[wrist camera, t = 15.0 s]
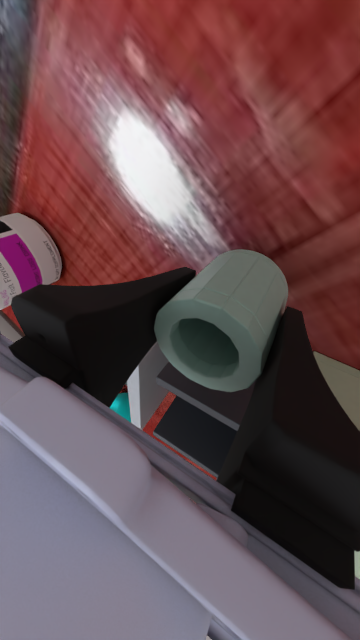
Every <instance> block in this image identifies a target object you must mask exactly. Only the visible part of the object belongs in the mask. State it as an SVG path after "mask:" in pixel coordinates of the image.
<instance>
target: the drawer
mask: <svg viewBox="0 0 360 640" xmlns="http://www.w3.org/2000/svg"><path fill="white" fill-rule="evenodd" d="M255 382H256V381H255ZM255 382H254V383H253V384H252V385H251V386H250V387H249V388H247V389H243V390H238V391H234V392H226V391H220V390H214V389H210V388H207V387H205V386H203V385H201V384H199V383H196V382H194V381H192V380H190V379H189V378H187V377H186V376H185V375H183V374H182V373H181V372H180V371H179V370H177V369H176V368H175V367H174V366H173V365H172V364H171V363H170V362H169V361H168V359H167V358H166V356H165V355H164V354H163V352H162V351H161V349H160V347H159V345H158V342H156V343H155V344H154V345H153V346H152V348H151V349H150V350H149V351H148V353H147V354H146V355H145V357H144V358H143V359H142V361H141V362H140V363H139V365H138V366H137V368H136V369H135V370H134V372H133V373H132V374H131V376H130V377H129V379H128V380H127V382H126V383H125V384H126V385H127V386H128V396H129V406H130V415H131V423H132V424H133V425H135V426H136V427H138V428H139V429H141V430H142V429H143V428H144V427H145V425H146V424H147V422H148V421H149V419H150V418H151V416H152V415H153V414H154V412H155V411H156V409H157V408H158V406H159V405H160V404H161V402H162V401H163V399H164V398H165V396H166V395H167V393H168V392H169V391H170V392H172V393H174V394H175V395H177V396H176V398H175V399H174V401H173V402H172V404H171V405H170V407H169V408H168V410H167V411H166V413H165V414H164V416H163V418H162V419H161V421H160V422H159V424H158V425H157V427H156V428H155V430H154V432H153V435H154V436H156V437H157V438H159V439H160V440H162V441H163V442H165V443H166V444H168V445H169V446H171V447H172V448H174V449H175V450H177V451H178V452H179V453H181V454H182V455H184V456H185V457H187V458H188V459H190V460H191V461H193V462H194V463H196V464H197V465H199V466H200V467H202V468H203V469H205V470H206V471H208V472H209V473H210V474H212V475H213V476H215V477H216V478H218V476H219V474H220V471H221V469H222V467H223V464H224V462H225V460H226V457H227V455H228V452H229V450H230V448H231V445H232V443H233V441H234V438H235V436H236V433H237V431H238V429H239V426H240V424H241V421H242V419H243V416H244V414H245V411H246V409H247V406H248V404H249V401H250V399H251V396H252V393H253V389H254V385H255Z"/></svg>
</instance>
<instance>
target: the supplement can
mask: <svg viewBox="0 0 360 640" xmlns="http://www.w3.org/2000/svg"><path fill="white" fill-rule="evenodd" d="M61 270H62V262H61V257H60V254H59V252H58V249H57V247H56V245H55V243H54V242H53V240H52V238H51V237H50V235H49V234H48V233H47V232H46V231H45V229H44V228H43V227H42V226H41V225H40V224H38V223H37V222H36V221H35V220H33V219H30V218H28V217H27V216H25V215H22V214H20V213H15V214H10V215H6V216H2V217H0V310H1V309H3V308H5V307H7V306H9V305H11V302H12V298H13V297H15V296H17V295H19V294H21V293H23V292H25V291H27V290H29V289H31V288H33V287H35V286H37V285H39V284H45V285H50V284H52V283H54V282H56V281H57V280H59V278H60V274H61Z"/></svg>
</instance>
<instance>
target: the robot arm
mask: <svg viewBox="0 0 360 640" xmlns="http://www.w3.org/2000/svg"><path fill="white" fill-rule="evenodd" d="M195 274H196V271H195V270H193V269H190V268H187V267H183V268H179V269H175V270H172V271H169V272H165V273H162V274H159V275H155V276H151V277H147V278H143V279H139V280H135V281H130V282H124V283H118V284H109V285H97V286H60V285H45V284H39V285H37V286H35V287H33V288H31V289H29V290H27V291H25V292H23V293H21V294H19V295H17V296H15V297H13V298H12V302H11V306H12V310H13V312H14V314H15V316H16V318H17V320H18V322H19V324H20V326H21V328H22V330H23V332H24V334H25V335H26V336H24V337H23V338H21V339H20V340H18V341H16V342H15V343H14V342H12V341H11V340H9V339H8V338H6V337H5V336H3V335H2V334H0V640H206V636H207V635H208V636H209V637H210V638H211V639H212V640H360V579H359V578H357V577H356V576H355V551H356V552H359V551H360V431H359V430H358V428H357V427H356V426H355V425H354V423H353V422H352V421H351V419H350V418H349V416H348V415H347V414H346V412H345V411H344V409H343V408H342V406H341V405H340V403H339V402H338V400H337V399H336V397H335V396H334V394H333V392H332V391H331V389H330V387H329V386H328V384H327V382H326V380H325V378H324V376H323V374H322V372H321V371H320V368H319V366H318V364H317V361H316V359H315V356H314V354H313V351H312V348H311V345H310V342H309V339H308V335H307V332H306V328H305V323H304V318H303V314H302V312H301V311H299V310H296V309H294V308H291V307H288V306H287V308H286V310H285V312H284V314H283V315H282V318H281V320H280V323H279V326H278V328H277V332H276V335H275V338H274V341H273V344H272V346H271V349H270V352H269V355H268V357H267V360H266V363H265V366H264V368H263V371H262V374H261V375H260V376H259V377H258V378H257V380H256V382H255V385H254V389H253V393H252V396H251V399H250V401H249V404H248V406H247V409H246V411H245V414H244V416H243V419H242V421H241V424H240V426H239V429H238V431H237V433H236V436H235V438H234V441H233V443H232V445H231V448H230V450H229V452H228V455H227V457H226V460H225V462H224V464H223V467H222V469H221V471H220V474H219V476H218V478H217V480H216V481H215V480H214V479H212V478H211V477H209V476H208V475H207V474H205V473H204V472H202V471H201V470H199V469H198V468H196V467H195V466H193V465H192V464H190V463H189V462H188V461H186V460H185V459H183V458H182V457H180V456H179V455H177V454H176V453H174V452H173V451H171V450H170V449H169V448H167V447H166V446H164V445H163V444H161V443H160V442H158V441H157V440H155V439H154V438H152V437H151V436H150V435H148V434H147V433H145V432H144V431H142V430H141V429H139V428H138V427H136V426H135V425H133V424H132V423H131V422H129V421H128V420H126V419H125V418H123V417H122V416H120V415H119V414H117V413H116V412H114V411H113V410H112V409H110V406H111V405H112V403H113V402H114V400H115V398H116V397H117V395H118V394H119V392H120V391H121V389H122V388H123V386H124V385H125V383H126V382H127V380H128V379H129V377H130V376H131V374H132V373H133V372H134V370H135V369H136V368H137V366H138V365H139V363H140V362H141V361H142V359H143V358H144V357H145V355H146V354H147V353H148V351H149V350H150V349H151V348H152V346H153V345H154V344H155V343H156V342H157V338H156V335H155V332H154V325H155V320H156V315H157V313H158V311H159V310H160V309H161V308H162V307H163V306H164V305H165V304H166V303H167V302H169V301H170V300H171V299H172V298H173V297H174V296H175V295H176V294H177V293H178V292H179V291H180V290H181V289H182V288H184V287H185V286H186V285H187V284H188V283H189V282H190V281H191V280H192V279H193V278H194V277H195ZM187 496H188V497H187ZM191 499H192V500H193V501H194V502H196V504H195V503H194V502H193V501H192V500H191Z"/></svg>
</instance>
